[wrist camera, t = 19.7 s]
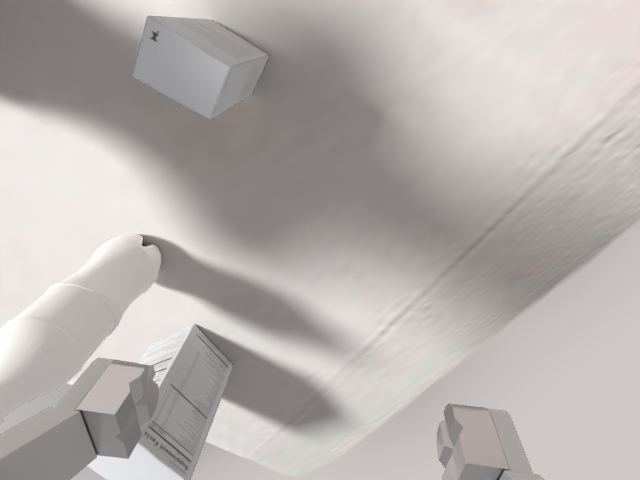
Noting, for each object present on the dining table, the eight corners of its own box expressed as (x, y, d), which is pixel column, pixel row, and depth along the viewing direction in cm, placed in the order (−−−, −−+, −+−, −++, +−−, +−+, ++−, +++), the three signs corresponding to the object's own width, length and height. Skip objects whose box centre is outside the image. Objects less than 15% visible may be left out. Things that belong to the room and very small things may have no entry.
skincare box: (196, 64, 36) (127, 76, 25) (212, 18, 34) (145, 11, 23) (253, 97, 37) (209, 123, 26) (272, 55, 35) (233, 64, 24)
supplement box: (148, 343, 55) (69, 456, 40) (194, 321, 52) (128, 435, 37) (190, 384, 58) (132, 502, 44) (236, 366, 55) (190, 486, 41)
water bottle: (140, 218, 45) (-73, 393, 23) (179, 263, 47) (23, 459, 25) (100, 243, 47) (-127, 424, 25) (140, 284, 50) (-34, 481, 28)
